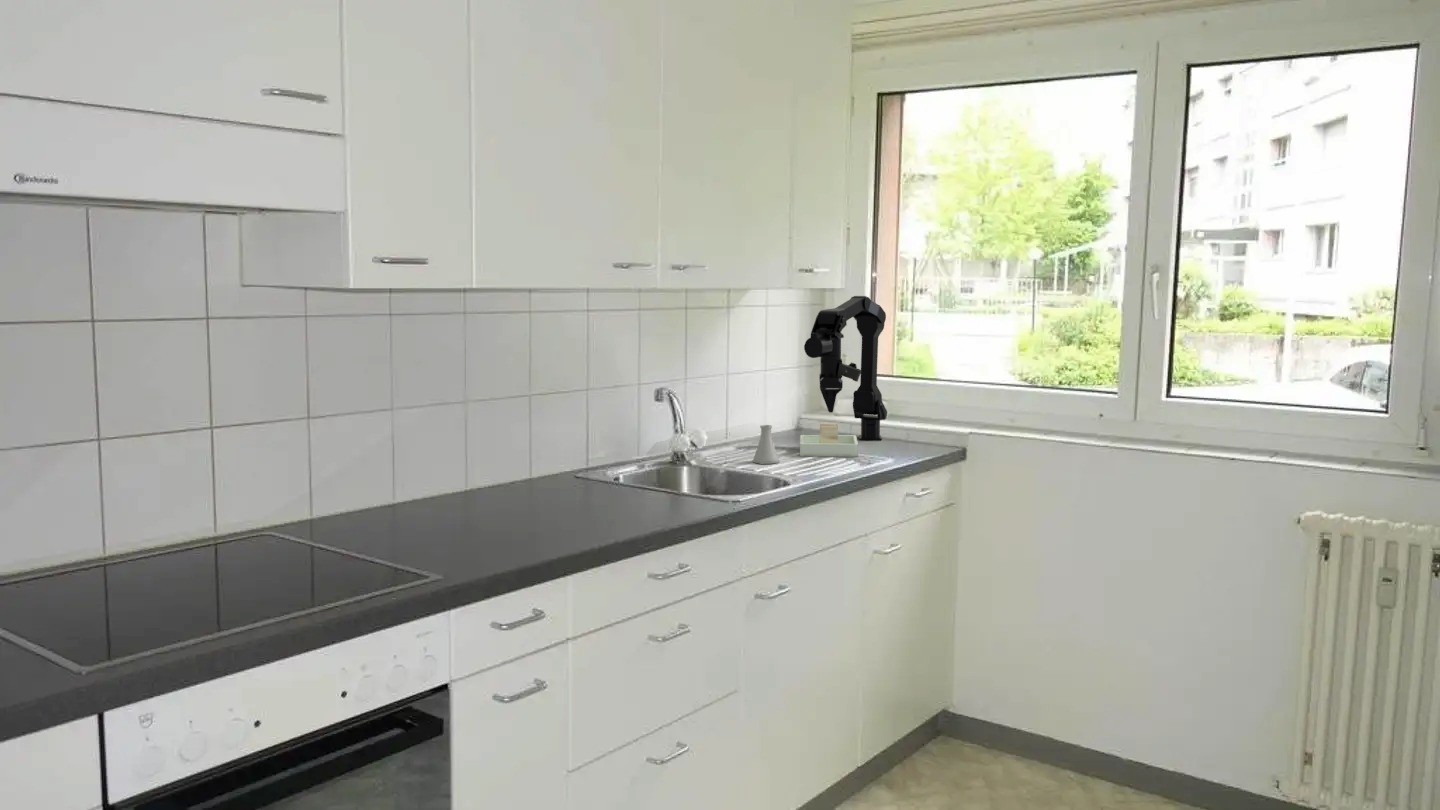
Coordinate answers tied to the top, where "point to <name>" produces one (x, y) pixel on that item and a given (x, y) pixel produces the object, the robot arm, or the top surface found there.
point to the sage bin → (828, 446)
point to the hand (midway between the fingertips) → (830, 410)
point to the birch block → (828, 433)
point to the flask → (766, 448)
